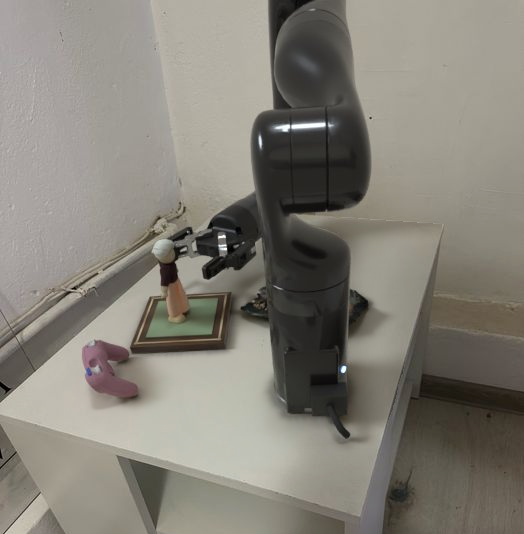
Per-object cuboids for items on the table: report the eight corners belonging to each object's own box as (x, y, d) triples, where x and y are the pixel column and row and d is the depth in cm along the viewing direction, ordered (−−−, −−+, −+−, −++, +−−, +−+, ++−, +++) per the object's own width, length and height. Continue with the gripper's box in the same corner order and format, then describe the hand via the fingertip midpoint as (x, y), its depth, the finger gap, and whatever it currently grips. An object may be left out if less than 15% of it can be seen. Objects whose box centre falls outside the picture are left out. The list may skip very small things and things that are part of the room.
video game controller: (107, 369, 72) (72, 342, 67) (131, 351, 71) (97, 322, 67) (116, 413, 64) (76, 386, 60) (142, 393, 64) (105, 364, 59)
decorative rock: (226, 305, 72) (264, 253, 82) (234, 336, 76) (270, 283, 86) (350, 319, 65) (375, 259, 75) (352, 352, 69) (376, 292, 79)
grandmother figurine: (191, 325, 74) (175, 249, 66) (166, 328, 74) (146, 253, 66) (191, 299, 80) (176, 226, 72) (168, 302, 80) (150, 230, 72)
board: (225, 349, 71) (223, 341, 70) (131, 353, 72) (129, 346, 71) (232, 297, 82) (231, 290, 81) (151, 302, 83) (149, 295, 82)
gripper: (204, 198, 84) (140, 237, 73) (275, 210, 77) (216, 254, 67) (211, 238, 88) (151, 280, 78) (278, 252, 82) (223, 300, 71)
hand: (181, 268), depth 72 cm, fingers open, 8 cm apart
